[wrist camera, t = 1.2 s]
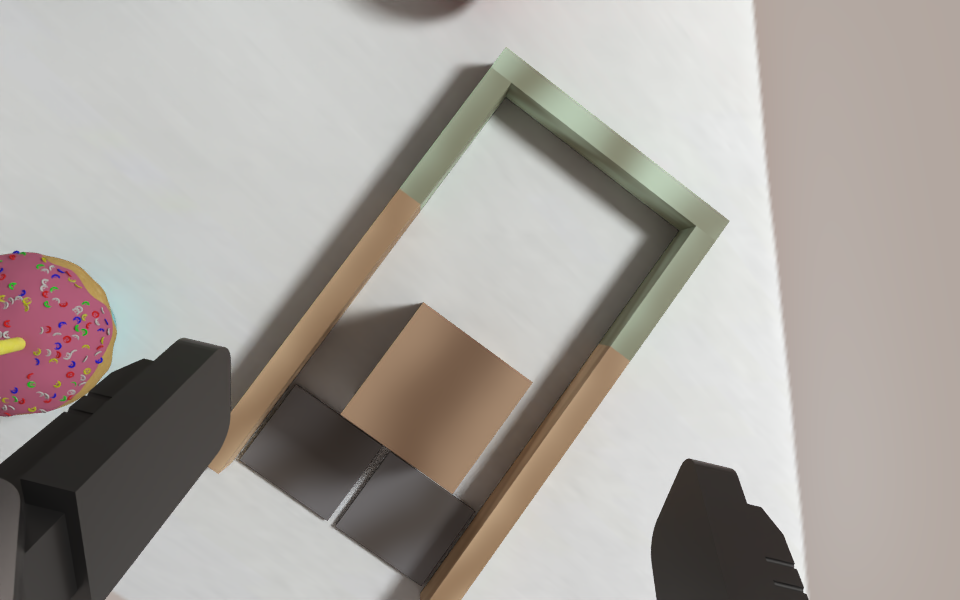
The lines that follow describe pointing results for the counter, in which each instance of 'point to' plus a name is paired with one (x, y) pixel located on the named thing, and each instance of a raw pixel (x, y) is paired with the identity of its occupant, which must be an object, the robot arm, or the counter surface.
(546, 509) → the counter surface
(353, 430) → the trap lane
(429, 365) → the walnut block
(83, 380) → the cupcake
